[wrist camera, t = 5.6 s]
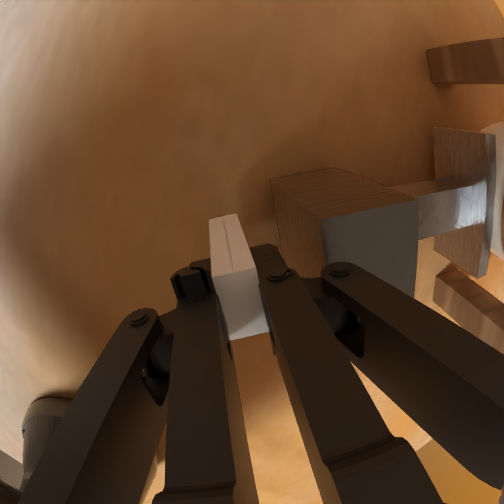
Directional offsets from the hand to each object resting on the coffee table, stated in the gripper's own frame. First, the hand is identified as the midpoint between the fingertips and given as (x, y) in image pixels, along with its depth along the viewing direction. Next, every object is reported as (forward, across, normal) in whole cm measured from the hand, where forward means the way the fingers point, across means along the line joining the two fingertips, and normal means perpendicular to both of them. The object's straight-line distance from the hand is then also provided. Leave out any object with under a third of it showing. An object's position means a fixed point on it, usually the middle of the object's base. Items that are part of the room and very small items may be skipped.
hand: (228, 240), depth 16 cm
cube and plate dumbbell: (+2, +9, 0) cm, 9 cm away
